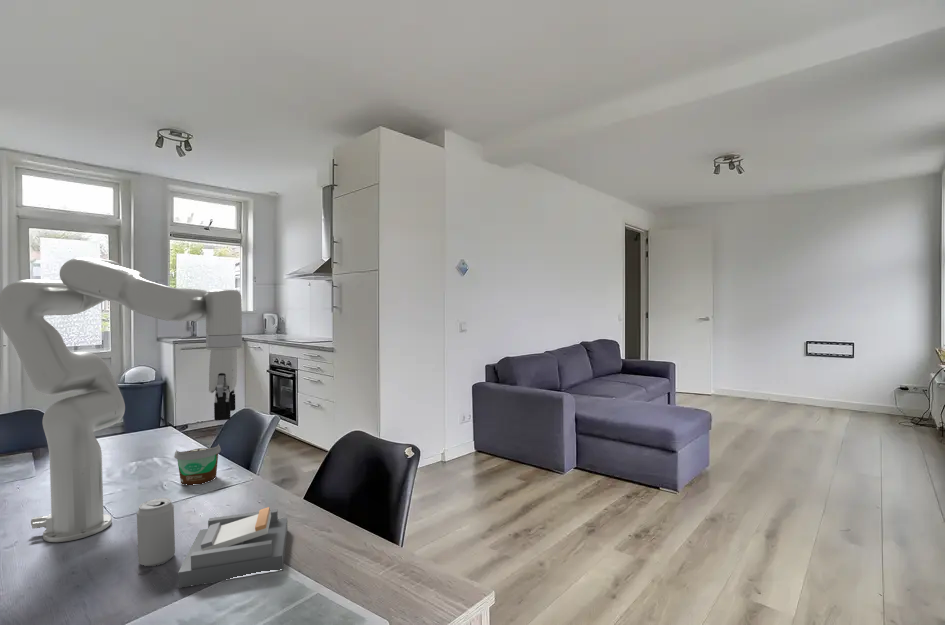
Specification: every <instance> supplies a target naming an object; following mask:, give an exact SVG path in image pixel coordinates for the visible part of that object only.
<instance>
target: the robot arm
mask: <svg viewBox="0 0 945 625" xmlns="http://www.w3.org/2000/svg"><path fill="white" fill-rule="evenodd" d="M59 278H60V280H55V279H54V280H53V279H42V278H41V279H37V278H33V279H32V278H31V279H29V278H28V279H22V280H21V279H20V280H16V281H14V282H11V283H9V284H8V285H6V286H4V287H3V288H2V290H1V291H0V327H1V329H2V330H3V332H4V333H5V335H6V336H7V338H8V339H9V340H10V342H11V344H12V345H13V347H14V349H15V351H16V353H17V356H18V358H19V360H20V362H21V364H22V366H23V368H24V370H25V373H26V375H27V376H28V379H29V380H30V382H31V384H32V386H33V387H34V389H35V390H36V391H37V392H38V393H39V394H41V395H44V396H58V395H63V394H68V393H72V392H75V393H76V394H77V395H73V396H69V397H65V398H62V399H59V400H57V401H56V402H53V403H52V404H51V405H50V406H49V407H48V408H47V409H46V410H45V411H44V414H43V417H42V428H43V432H44V435H45V438H46V441H47V448H48V455H49V456H48V457H49V458H48V460H49V476H50V477H49V481H50V482H49V483H50V484H49V485H50V510H51V511H50V513H49V514H48V515H45V516H43V515H42V516H33V517H32V518H31V520H30V525H31V529H32V530H34V529H40V528H44V531H43V532H42V539H43V540H44V541H45V542H49V543H64V542H70V541H71V542H72V541H76V540H79V539H80V540H81V539H83V538H87V537H91V536H93V535H95V534H98V533H100V532H102V531H104V530H106V529H107V528H108V527H109V526H111V525H112V522H113V519H112V518H113V517H112V516H111V515H110V514H107V513H104V490H103V489H104V487H103V484H104V483H103V455H102V454H103V453H102V448H101V444H100V442H99V441H98V439H97V437H96V436H95V432H97V431H101V430H103V429H107V428H109V427H112V426H113V425H115V424H117V423H119V422H120V421H121V420H122V418H123V417H124V415H125V411H126V404H125V399H124V397H123V394H122V393H121V390H120V389H119V387H118V384H117V382H116V380H115V378H114V375H112V372H111V370H110V368H109V366H108V364H107V363H106V361H104V359H103V358H102V357H100V356H99V355H98V354H95V353H94V352H90V351H75V352H73V351H72V352H71V351H70V350H69V348H68V347H67V345H66V343H65V341H64V339H63V337H62V335H61V334H60V332H59V331H58V329H57V328H55V327H54V325H52V324H50V323H49V322H48V321H47V320H46V319H45V318H44V317H45V316H72V315H77V314H81V313H82V312H86V311H88V310H89V309H91V308H94V307H95V306H97V305H99V304H101V303H103V302H104V301H108V302H112V303H114V304H115V303H116V304H118V305H122V306H124V307H125V308H127V309H129V310H131V311H133V312H135V313H137V314H141V315H144V316H146V317H147V316H148V317H151V318H154V319H159V320H162V321H166V322H172V323H180V322H197V321H205V342H206V343H205V350H206V351H207V350H209V351H210V354H209V356H210V357H209V369H208V370H209V371H208V376H209V377H208V392H209V393H211V394H213V393H214V392H215V393H214V402H213V407H214V408H213V409H214V411H213V415H214V417H213V418H214V421H227V420H231V417H232V416H231V412H233V411H235V410H236V392H235V391H236V390H235V388H236V387H237V380H238V379H237V378H238V350H239V349H242V348H243V316H242V315H243V314H242V313H243V311H242V310H243V308H242V305H243V304H242V300H243V299H242V294H241V292H240V291H238V290H235V289H211V290H206V289H197V288H196V289H195V288H186V287H185V288H184V287H183V288H182V287H172V286H168V285H164V284H160V283H157V282H153V281H150V280H148V279H147V277H146V276H145V274H144V273H143V272H141V271H139V270H135V269H132V268H128V267H124V265H122V264H121V263H119V262H117V261H115V260H110V259H103V258H95V257H88V256H84V257H83V256H82V257H79V256H78V257H74V258H70V259H69V260H67V261H66V262H64V263H63V265H62V266H61V267H60V269H59Z"/></svg>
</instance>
